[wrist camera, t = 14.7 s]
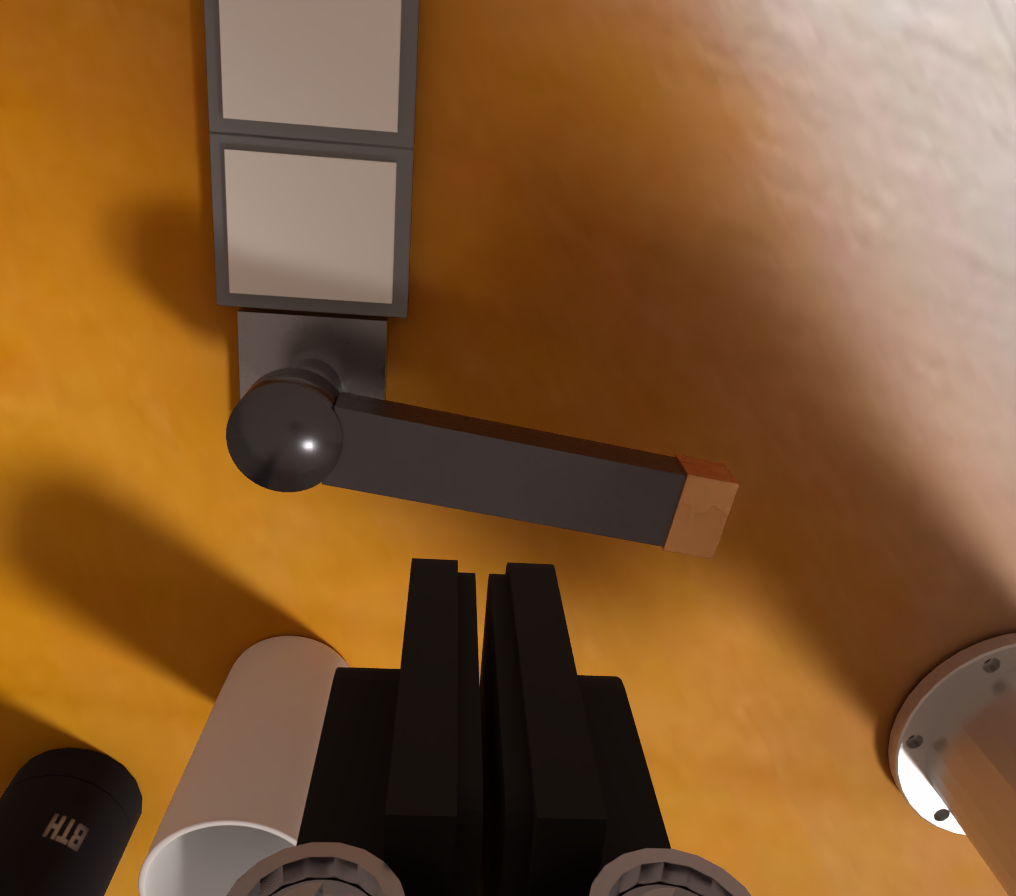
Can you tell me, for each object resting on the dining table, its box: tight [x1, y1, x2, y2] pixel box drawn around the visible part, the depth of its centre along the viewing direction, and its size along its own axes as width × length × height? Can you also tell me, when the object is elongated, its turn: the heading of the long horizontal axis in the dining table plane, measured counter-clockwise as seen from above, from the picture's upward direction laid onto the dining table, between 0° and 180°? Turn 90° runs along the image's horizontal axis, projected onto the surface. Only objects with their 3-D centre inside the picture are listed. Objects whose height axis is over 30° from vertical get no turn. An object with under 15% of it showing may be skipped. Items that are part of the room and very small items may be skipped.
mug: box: [138, 636, 349, 896], centre depth 37 cm, size 10×7×12 cm, turn 39°
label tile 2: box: [209, 131, 414, 318], centre depth 34 cm, size 8×7×1 cm
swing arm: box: [226, 368, 739, 559], centre depth 32 cm, size 18×4×2 cm, turn 77°
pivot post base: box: [237, 307, 388, 400], centre depth 35 cm, size 6×6×4 cm
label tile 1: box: [204, 0, 420, 150], centre depth 32 cm, size 8×7×1 cm
